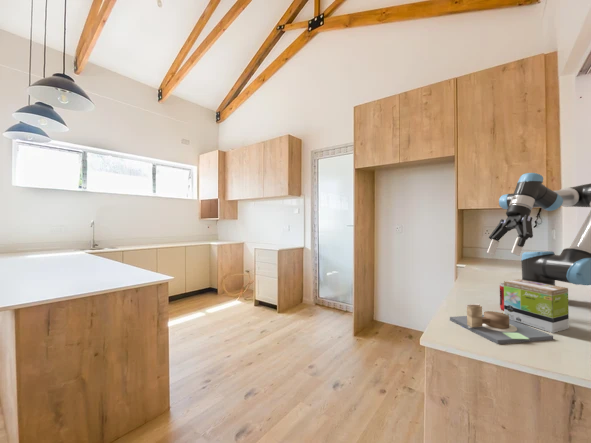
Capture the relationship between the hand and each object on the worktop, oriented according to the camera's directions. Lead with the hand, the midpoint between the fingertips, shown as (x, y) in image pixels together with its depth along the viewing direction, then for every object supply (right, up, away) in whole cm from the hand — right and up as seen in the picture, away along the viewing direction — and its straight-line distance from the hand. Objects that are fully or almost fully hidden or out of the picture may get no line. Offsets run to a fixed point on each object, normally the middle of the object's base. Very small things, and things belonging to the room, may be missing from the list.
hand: (502, 254), depth 105 cm
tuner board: (-14, -24, -15) cm, 32 cm away
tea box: (+3, -25, -11) cm, 27 cm away
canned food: (+6, -25, +2) cm, 26 cm away
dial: (-18, -23, -16) cm, 33 cm away
